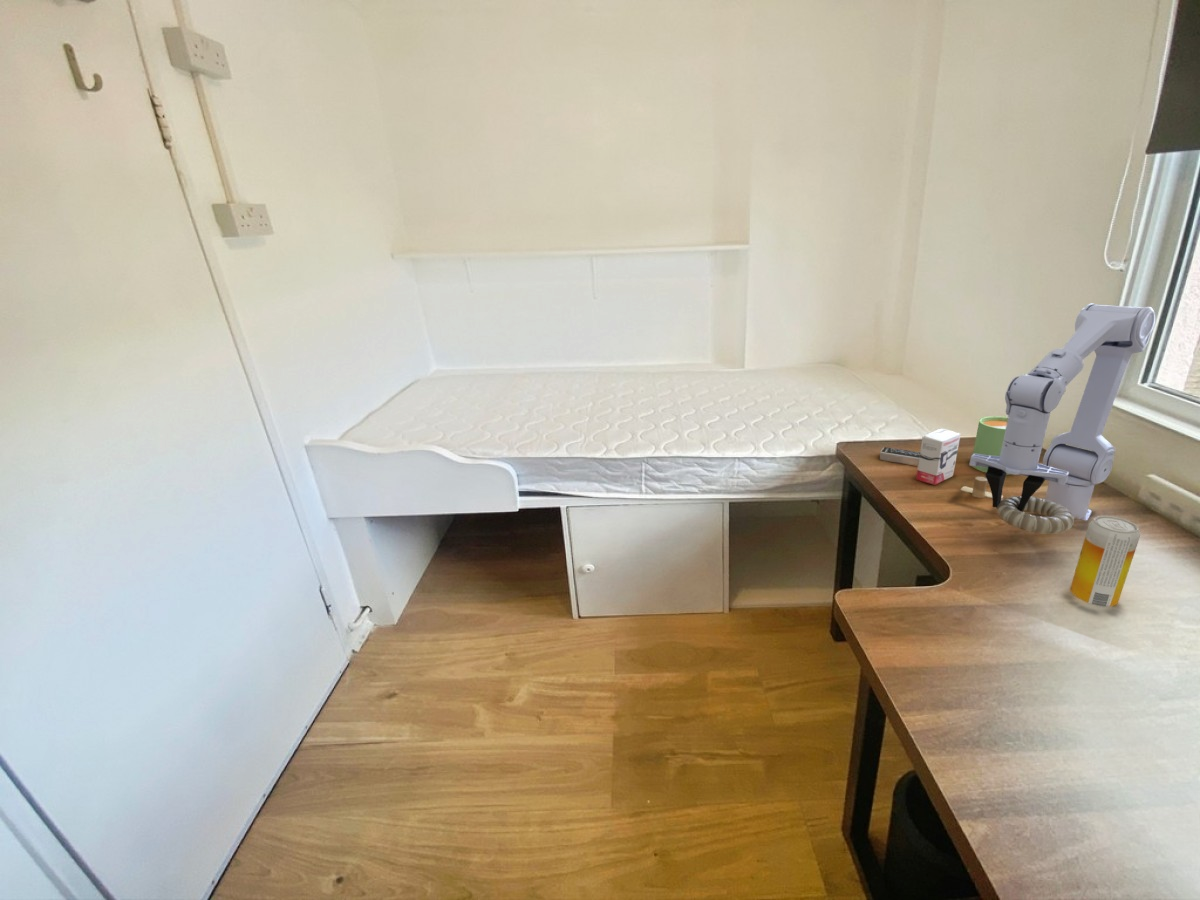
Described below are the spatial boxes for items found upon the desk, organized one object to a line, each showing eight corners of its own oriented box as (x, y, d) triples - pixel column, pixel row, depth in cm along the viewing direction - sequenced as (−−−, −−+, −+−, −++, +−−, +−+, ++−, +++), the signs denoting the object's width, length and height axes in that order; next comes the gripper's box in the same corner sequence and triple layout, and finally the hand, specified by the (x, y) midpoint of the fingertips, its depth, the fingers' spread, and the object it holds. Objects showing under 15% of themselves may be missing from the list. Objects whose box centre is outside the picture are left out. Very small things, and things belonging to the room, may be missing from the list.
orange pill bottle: (1105, 593, 94) (1130, 516, 88) (1123, 616, 89) (1150, 535, 83) (1062, 588, 96) (1083, 512, 90) (1077, 610, 91) (1100, 531, 85)
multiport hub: (924, 467, 145) (925, 459, 144) (879, 459, 151) (880, 451, 150) (927, 461, 148) (928, 453, 147) (883, 454, 154) (883, 446, 154)
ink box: (935, 485, 135) (942, 441, 130) (914, 479, 139) (921, 435, 134) (953, 476, 139) (961, 432, 134) (933, 470, 143) (940, 427, 138)
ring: (1004, 501, 109) (1007, 488, 108) (1077, 519, 102) (1081, 504, 100) (988, 523, 103) (991, 509, 101) (1064, 543, 95) (1068, 528, 94)
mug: (1029, 473, 137) (1040, 428, 133) (986, 476, 138) (995, 430, 133) (996, 454, 149) (1005, 412, 144) (957, 456, 149) (964, 414, 145)
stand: (962, 490, 132) (966, 468, 129) (1002, 499, 126) (1007, 477, 124) (951, 502, 127) (955, 480, 125) (992, 512, 121) (997, 489, 119)
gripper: (969, 439, 102) (957, 504, 107) (1069, 457, 92) (1051, 528, 97) (981, 428, 106) (969, 492, 111) (1077, 445, 96) (1059, 513, 101)
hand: (1007, 508), depth 104 cm, fingers closed on ring, 3 cm apart
